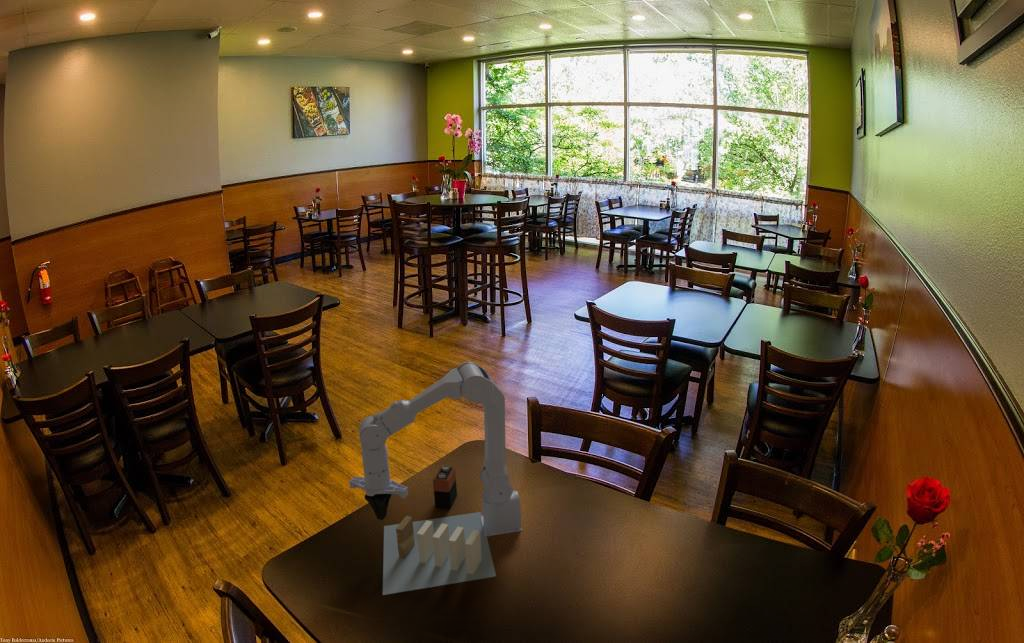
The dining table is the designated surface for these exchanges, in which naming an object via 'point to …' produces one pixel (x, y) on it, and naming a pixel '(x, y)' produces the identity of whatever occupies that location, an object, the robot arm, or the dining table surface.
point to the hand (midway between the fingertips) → (381, 517)
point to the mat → (431, 558)
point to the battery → (445, 487)
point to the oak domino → (405, 537)
